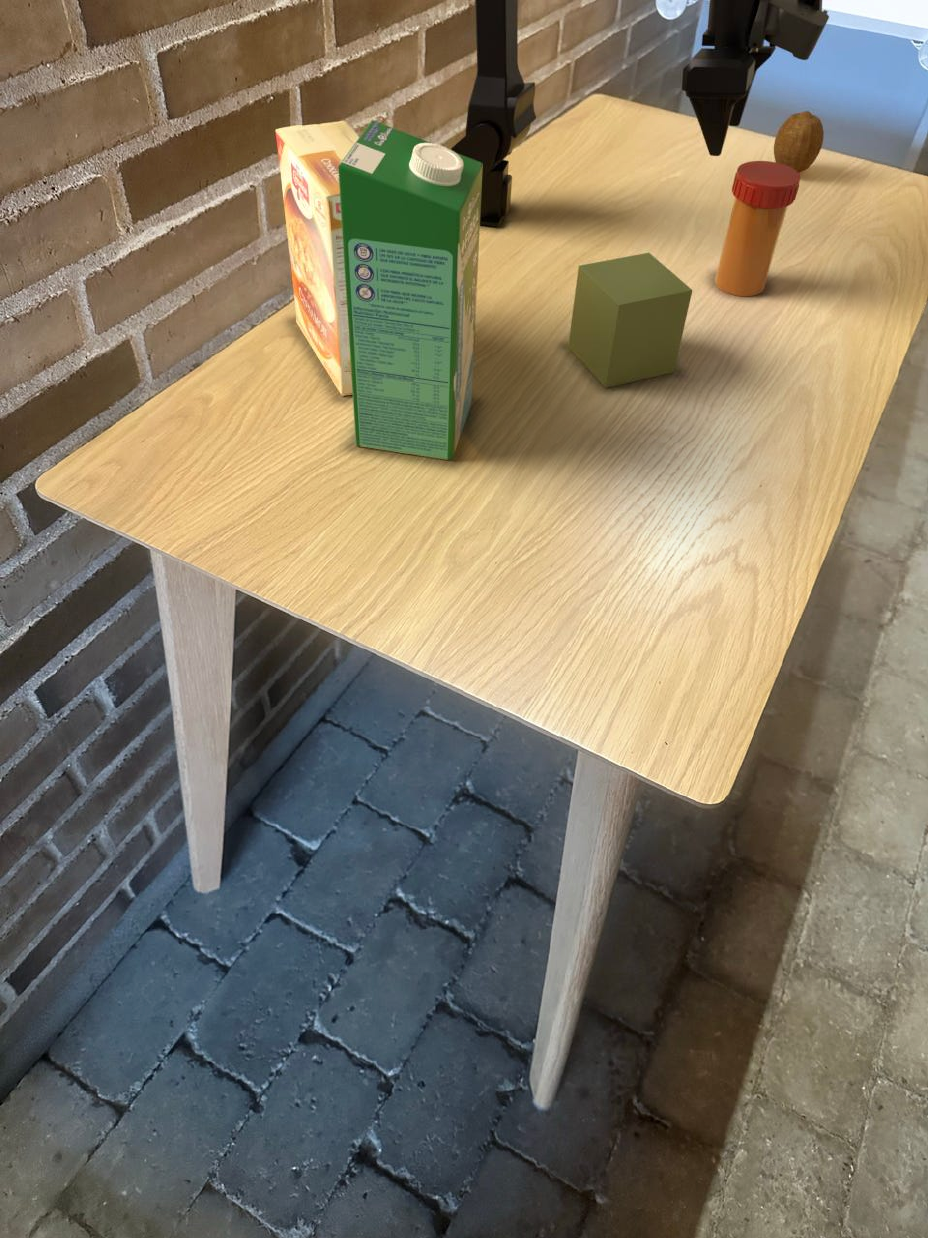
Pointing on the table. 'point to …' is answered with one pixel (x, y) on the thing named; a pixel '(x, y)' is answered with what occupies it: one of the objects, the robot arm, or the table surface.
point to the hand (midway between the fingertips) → (724, 139)
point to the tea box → (628, 319)
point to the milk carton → (410, 289)
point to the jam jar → (748, 249)
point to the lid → (766, 184)
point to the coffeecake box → (318, 238)
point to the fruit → (799, 141)
